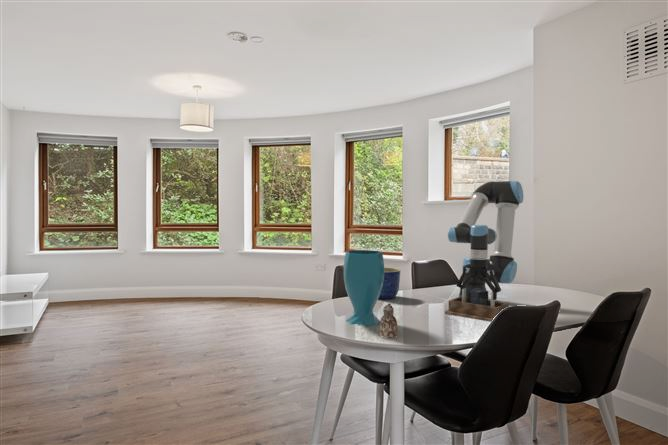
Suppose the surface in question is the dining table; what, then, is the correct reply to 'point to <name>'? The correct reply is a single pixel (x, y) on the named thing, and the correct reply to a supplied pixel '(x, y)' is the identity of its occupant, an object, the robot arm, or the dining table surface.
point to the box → (478, 296)
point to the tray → (474, 309)
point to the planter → (390, 283)
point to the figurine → (388, 323)
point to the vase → (363, 283)
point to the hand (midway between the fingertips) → (477, 304)
